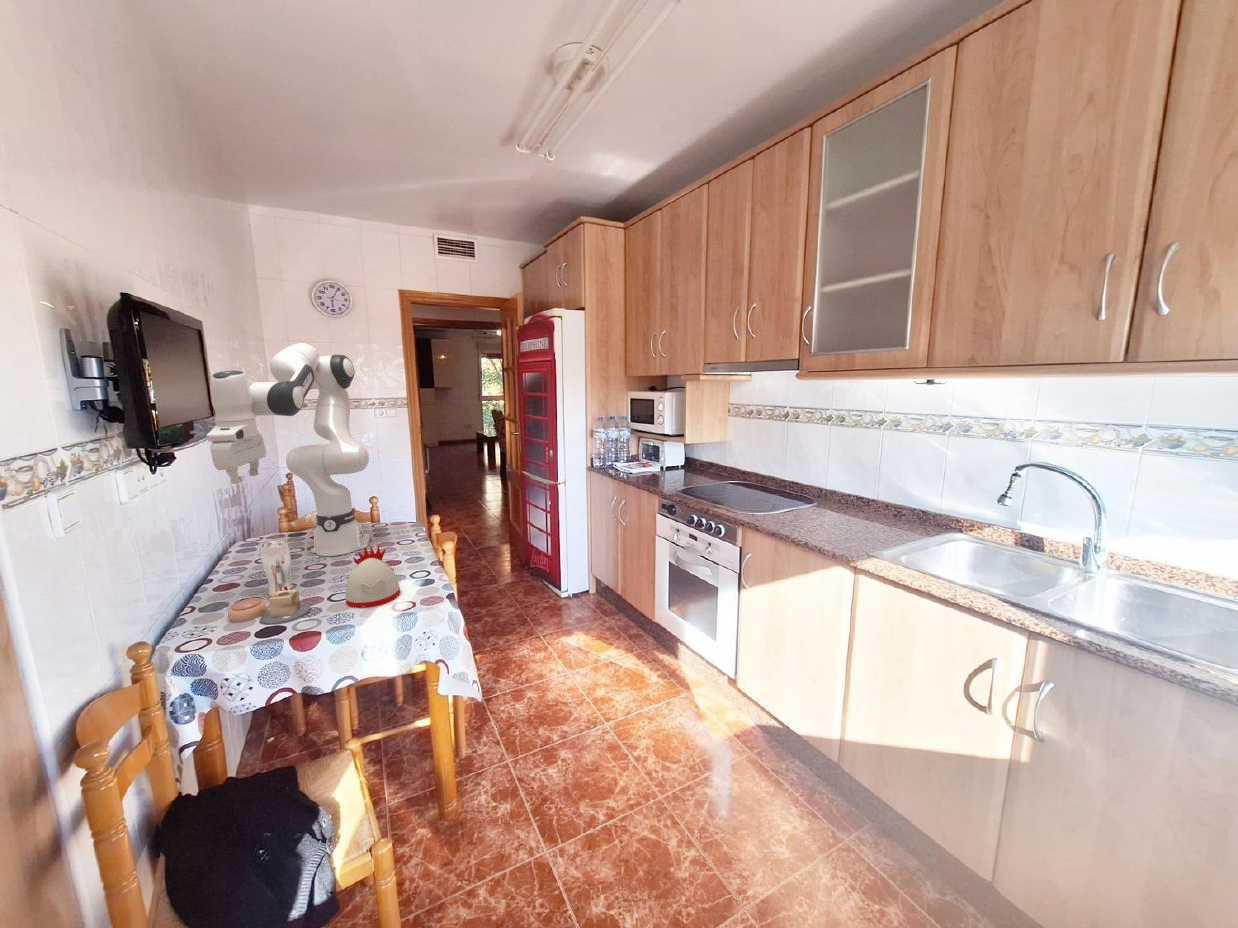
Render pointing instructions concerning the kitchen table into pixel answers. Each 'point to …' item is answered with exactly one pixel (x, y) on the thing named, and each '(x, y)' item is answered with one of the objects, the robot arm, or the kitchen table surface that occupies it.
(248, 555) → the kitchen table surface
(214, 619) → the kitchen table surface
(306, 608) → the coaster
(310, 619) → the kitchen table surface
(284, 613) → the oak block
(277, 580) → the beer glass
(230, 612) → the ramekin
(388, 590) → the kitchen timer
